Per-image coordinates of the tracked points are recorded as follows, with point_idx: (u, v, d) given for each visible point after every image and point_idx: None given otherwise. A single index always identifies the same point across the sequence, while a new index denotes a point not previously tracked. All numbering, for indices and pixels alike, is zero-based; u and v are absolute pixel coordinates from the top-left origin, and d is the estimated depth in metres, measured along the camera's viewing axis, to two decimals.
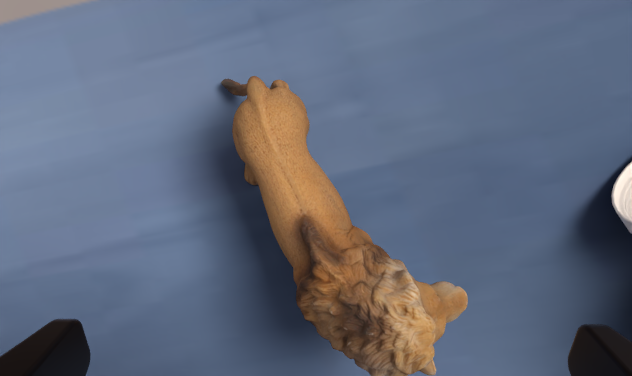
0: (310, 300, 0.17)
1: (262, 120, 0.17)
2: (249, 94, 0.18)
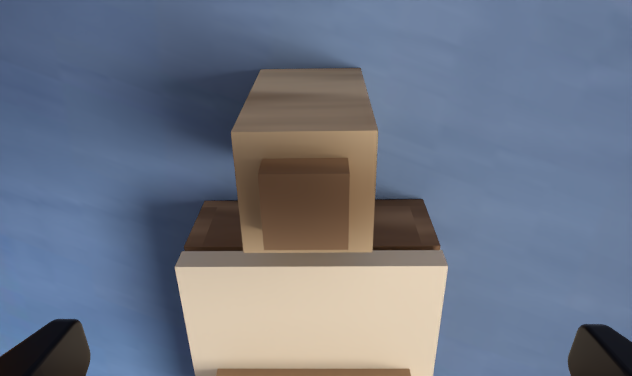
0: None
1: None
2: None
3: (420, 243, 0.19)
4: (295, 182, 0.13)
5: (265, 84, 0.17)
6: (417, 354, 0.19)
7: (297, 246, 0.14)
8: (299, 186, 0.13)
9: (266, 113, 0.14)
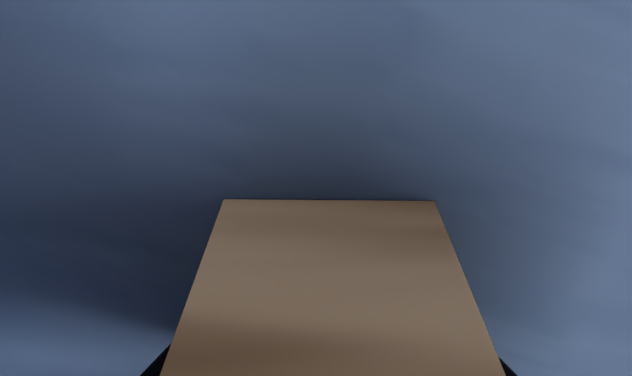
0: None
1: None
2: None
3: None
4: None
5: (224, 276, 0.07)
6: None
7: None
8: None
9: None
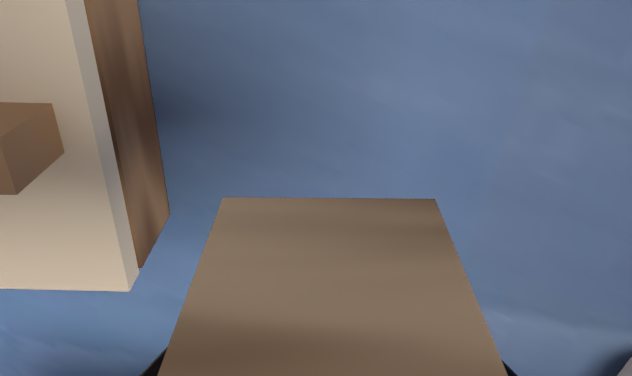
0: None
1: None
2: None
3: None
4: None
5: (222, 274, 0.07)
6: (54, 74, 0.13)
7: None
8: None
9: None
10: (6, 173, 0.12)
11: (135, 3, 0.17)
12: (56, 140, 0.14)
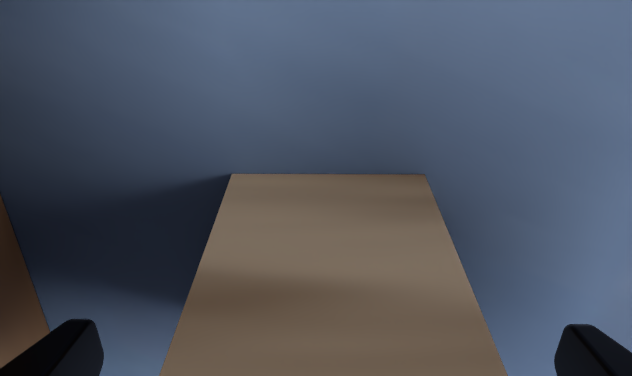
0: None
1: None
2: None
3: None
4: None
5: (234, 236, 0.08)
6: None
7: None
8: None
9: None
10: None
11: None
12: None
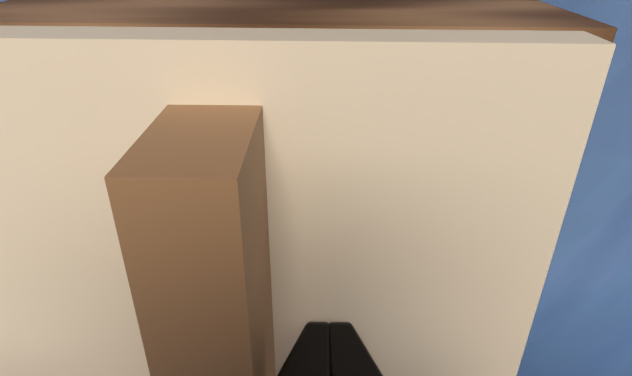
0: None
1: None
2: None
3: None
4: None
5: None
6: (112, 87, 0.07)
7: None
8: None
9: None
10: (183, 183, 0.05)
11: None
12: (228, 110, 0.07)
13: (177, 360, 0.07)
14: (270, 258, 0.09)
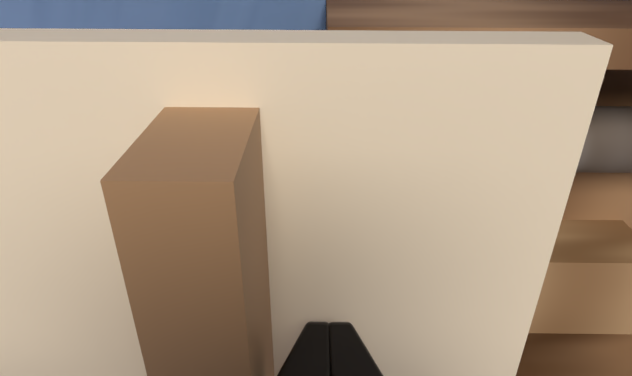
0: None
1: None
2: None
3: None
4: None
5: None
6: (109, 90, 0.07)
7: None
8: None
9: None
10: (179, 187, 0.05)
11: (465, 0, 0.11)
12: (226, 112, 0.07)
13: (175, 363, 0.07)
14: (268, 260, 0.09)
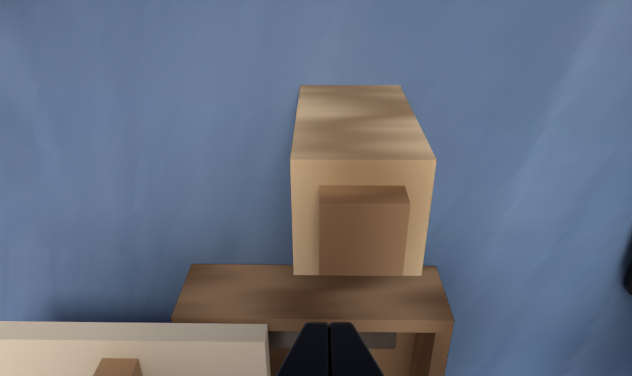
0: None
1: None
2: None
3: None
4: (327, 247, 0.13)
5: None
6: (80, 353, 0.20)
7: (401, 248, 0.13)
8: (332, 244, 0.13)
9: None
10: None
11: (257, 267, 0.23)
12: (124, 362, 0.19)
13: None
14: None
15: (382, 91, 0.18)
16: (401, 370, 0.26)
